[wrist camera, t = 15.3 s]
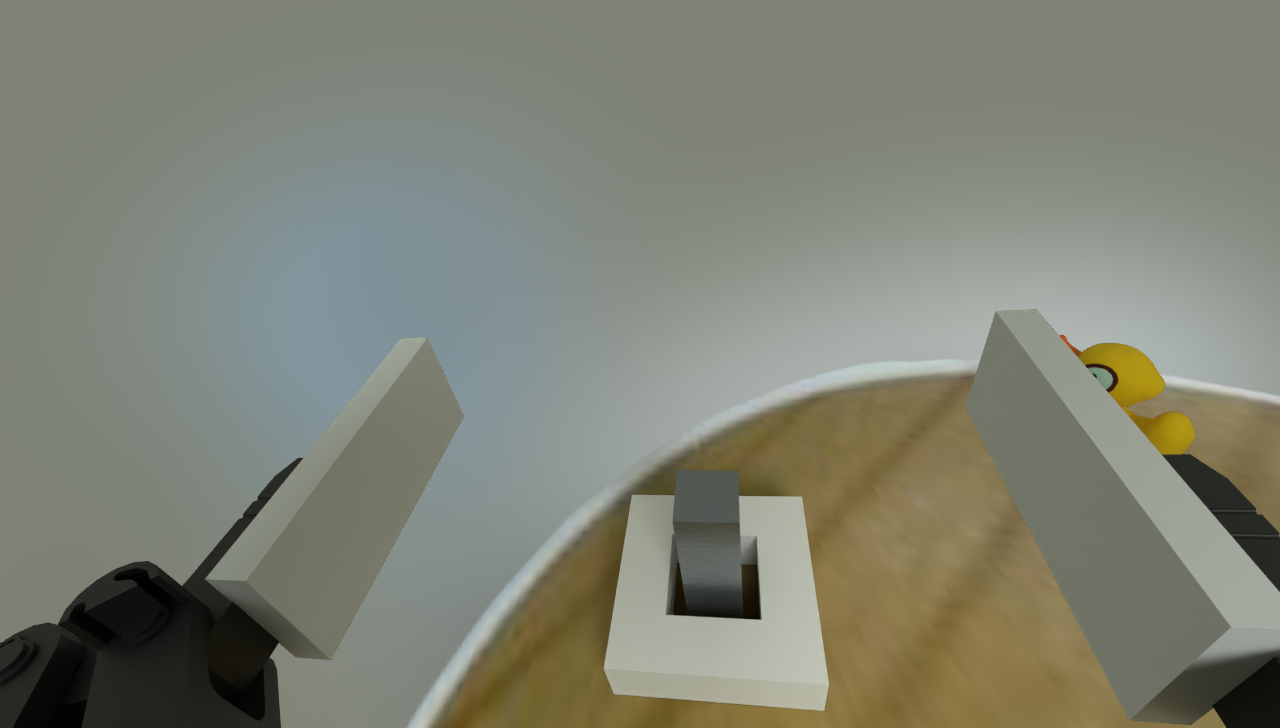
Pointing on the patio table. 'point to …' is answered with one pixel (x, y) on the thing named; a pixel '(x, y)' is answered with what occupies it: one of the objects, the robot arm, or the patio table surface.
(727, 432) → the patio table surface
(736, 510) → the tall dark grey pillar
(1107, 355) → the duckling
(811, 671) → the well block
